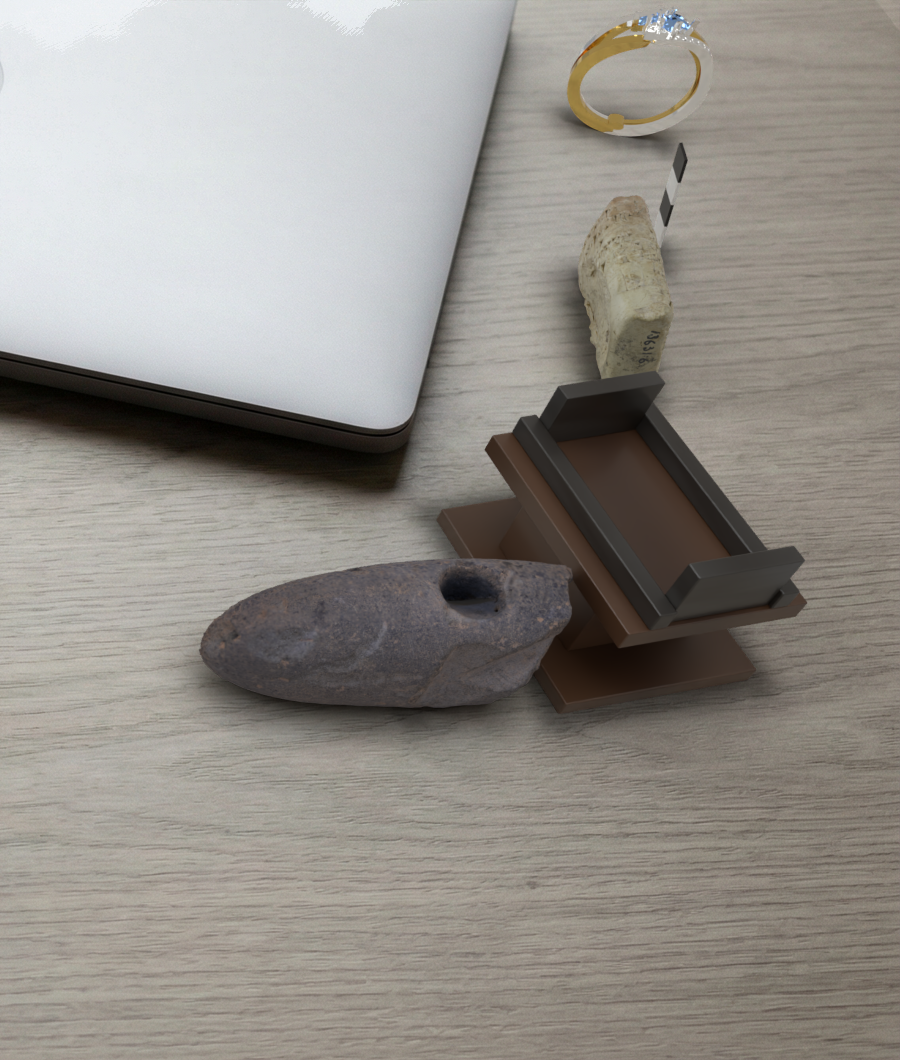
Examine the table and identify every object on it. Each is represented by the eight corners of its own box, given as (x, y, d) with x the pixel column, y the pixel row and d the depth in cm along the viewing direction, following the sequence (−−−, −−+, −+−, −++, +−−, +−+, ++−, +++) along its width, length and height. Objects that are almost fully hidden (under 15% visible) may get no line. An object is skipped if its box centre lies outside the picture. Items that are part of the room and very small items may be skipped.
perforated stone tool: (194, 729, 72) (237, 634, 67) (172, 628, 76) (211, 531, 70) (548, 732, 72) (620, 638, 67) (511, 631, 76) (576, 534, 70)
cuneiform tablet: (649, 250, 91) (693, 411, 84) (557, 253, 92) (592, 411, 85) (682, 142, 86) (732, 302, 78) (583, 146, 87) (623, 305, 80)
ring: (543, 135, 97) (603, 15, 91) (547, 103, 99) (606, -17, 93) (673, 165, 96) (744, 44, 89) (675, 131, 97) (744, 11, 91)
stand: (609, 493, 81) (699, 359, 74) (746, 682, 74) (860, 555, 67) (433, 522, 80) (508, 389, 72) (556, 717, 73) (651, 591, 66)
